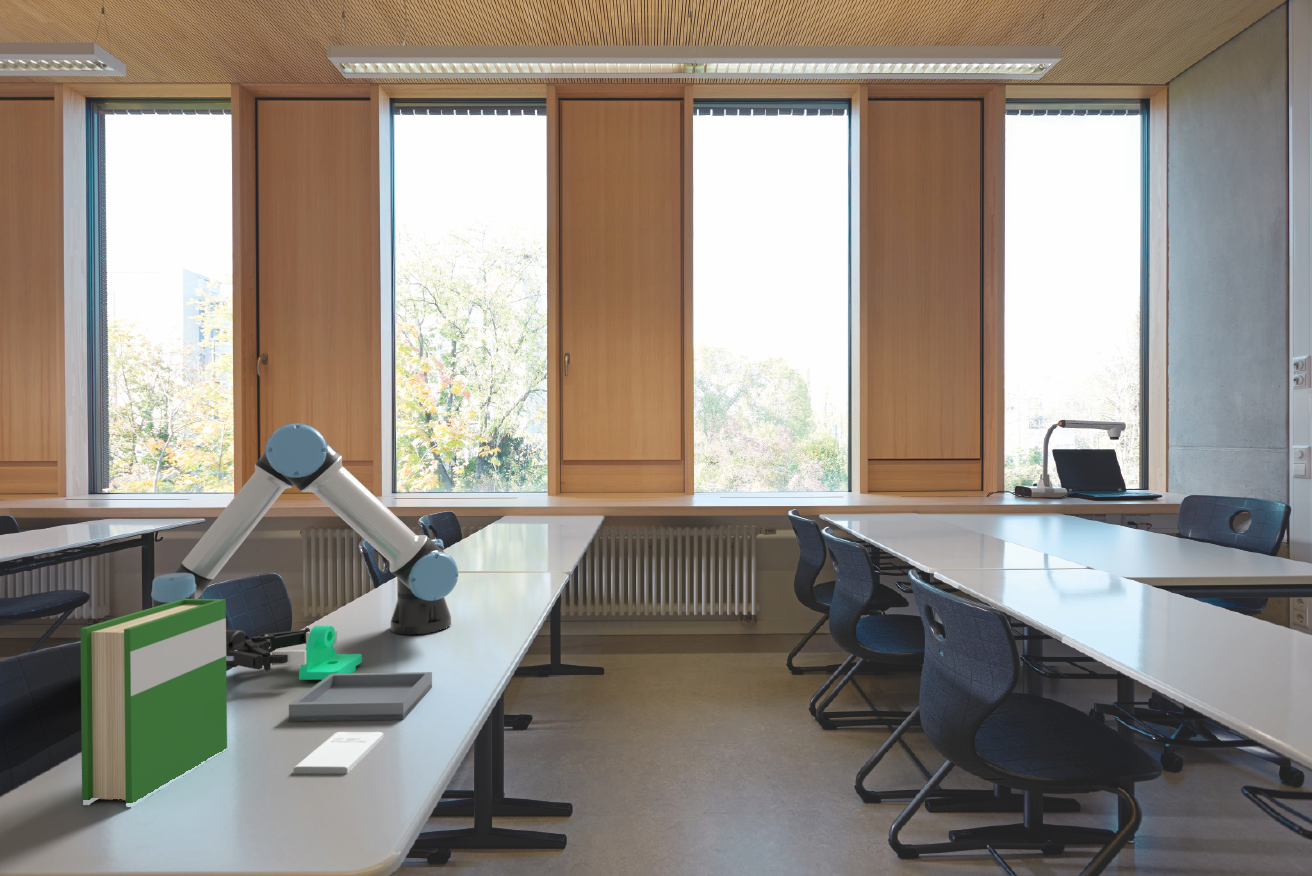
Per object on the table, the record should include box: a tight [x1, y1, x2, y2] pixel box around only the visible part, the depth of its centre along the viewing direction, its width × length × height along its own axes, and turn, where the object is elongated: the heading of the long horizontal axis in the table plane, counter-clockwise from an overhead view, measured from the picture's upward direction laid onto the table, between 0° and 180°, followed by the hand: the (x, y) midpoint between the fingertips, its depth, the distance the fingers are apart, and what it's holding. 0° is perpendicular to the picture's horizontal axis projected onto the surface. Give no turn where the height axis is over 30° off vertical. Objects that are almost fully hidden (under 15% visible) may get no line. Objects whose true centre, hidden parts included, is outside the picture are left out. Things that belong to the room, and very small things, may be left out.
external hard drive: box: [292, 731, 385, 775], centre depth 108 cm, size 2×8×12 cm
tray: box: [288, 671, 433, 723], centre depth 129 cm, size 16×20×3 cm
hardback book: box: [80, 598, 228, 803], centre depth 102 cm, size 18×7×24 cm, turn 174°
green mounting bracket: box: [298, 625, 363, 681], centre depth 146 cm, size 12×8×10 cm, turn 177°
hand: (321, 647), depth 146 cm, fingers open, 13 cm apart
